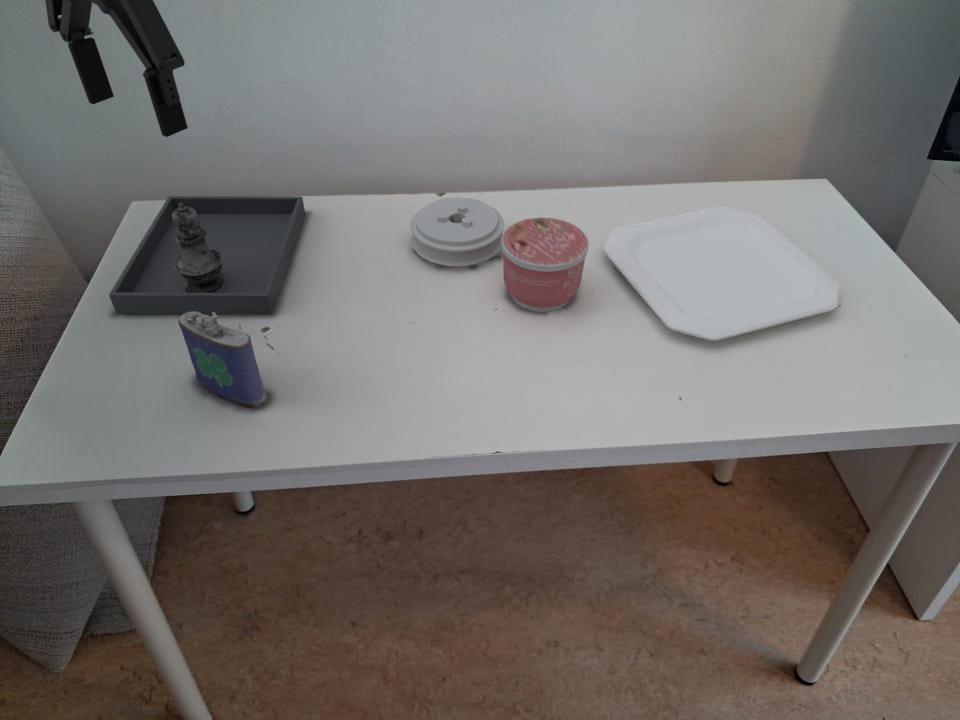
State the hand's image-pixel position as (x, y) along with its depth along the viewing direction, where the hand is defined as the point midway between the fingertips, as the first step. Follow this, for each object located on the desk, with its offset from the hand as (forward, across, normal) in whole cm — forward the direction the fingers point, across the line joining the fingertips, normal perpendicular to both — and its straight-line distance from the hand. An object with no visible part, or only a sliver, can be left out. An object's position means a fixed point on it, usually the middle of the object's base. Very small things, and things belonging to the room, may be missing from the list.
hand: (137, 115), depth 81 cm
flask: (+22, -21, +11) cm, 33 cm away
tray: (+22, 0, -5) cm, 22 cm away
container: (+22, -39, -24) cm, 51 cm away
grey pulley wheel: (+22, -24, -27) cm, 42 cm away
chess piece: (+22, -4, 0) cm, 22 cm away
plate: (+22, -56, -41) cm, 72 cm away
